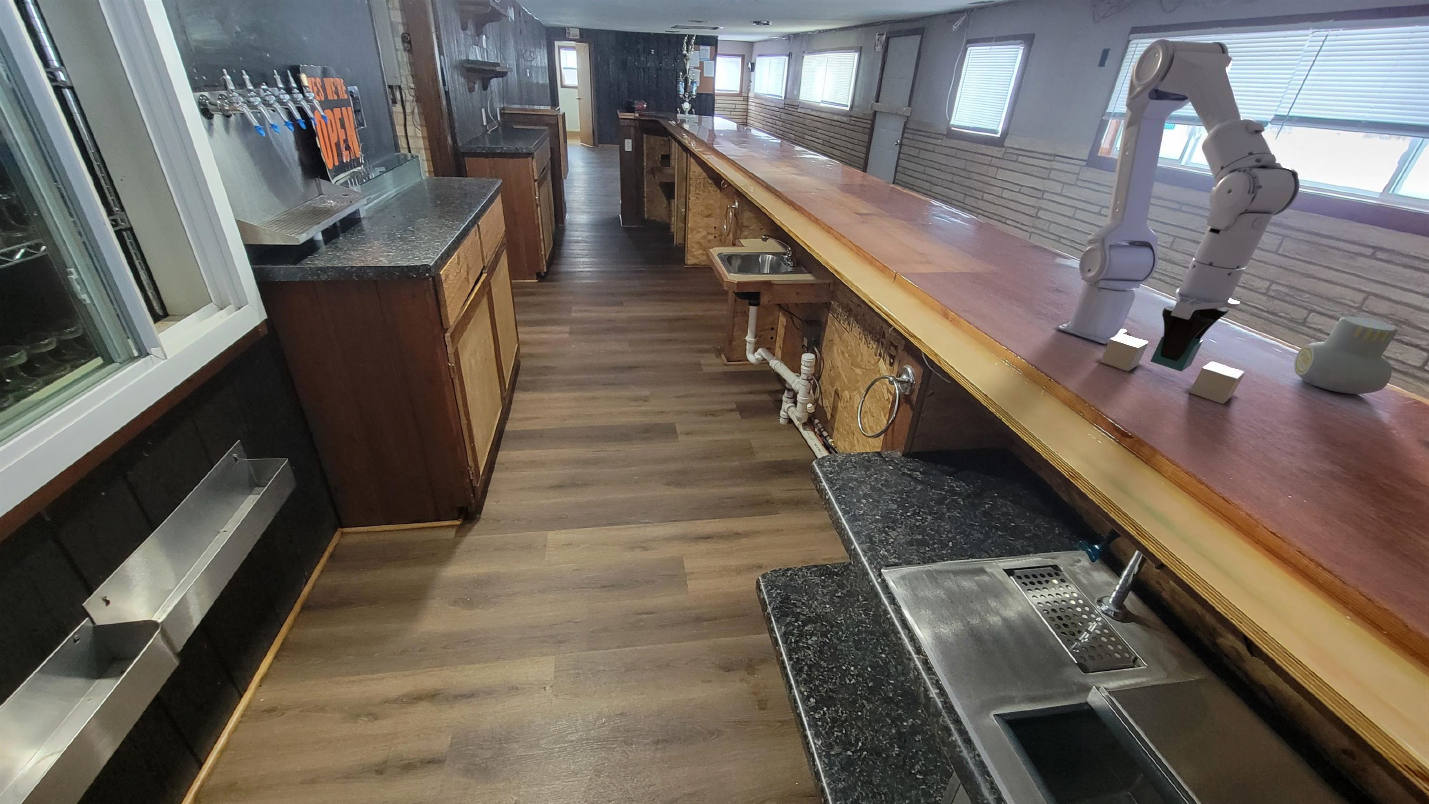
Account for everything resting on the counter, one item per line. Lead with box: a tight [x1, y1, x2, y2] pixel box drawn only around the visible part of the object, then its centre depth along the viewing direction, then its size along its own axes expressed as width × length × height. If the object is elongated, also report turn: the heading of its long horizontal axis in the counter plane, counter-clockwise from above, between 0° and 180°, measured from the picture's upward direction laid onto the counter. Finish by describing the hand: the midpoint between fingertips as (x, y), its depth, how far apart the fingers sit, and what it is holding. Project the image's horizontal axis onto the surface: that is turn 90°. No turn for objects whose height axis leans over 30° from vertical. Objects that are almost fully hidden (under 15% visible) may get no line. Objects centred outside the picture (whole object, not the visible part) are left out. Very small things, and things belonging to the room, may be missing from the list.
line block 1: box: [1100, 334, 1149, 372], centre depth 88 cm, size 4×4×4 cm
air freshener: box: [1293, 315, 1399, 395], centre depth 82 cm, size 11×8×10 cm
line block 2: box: [1189, 361, 1246, 405], centre depth 80 cm, size 4×4×4 cm
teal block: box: [1149, 335, 1204, 372], centre depth 82 cm, size 4×4×4 cm
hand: (1174, 354), depth 83 cm, fingers closed on teal block, 4 cm apart
